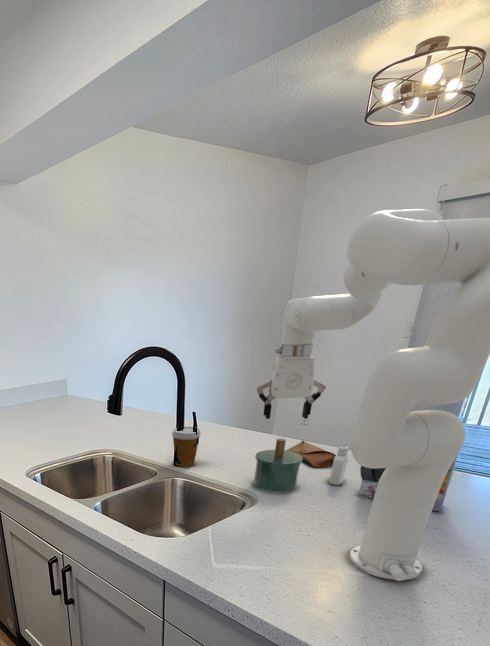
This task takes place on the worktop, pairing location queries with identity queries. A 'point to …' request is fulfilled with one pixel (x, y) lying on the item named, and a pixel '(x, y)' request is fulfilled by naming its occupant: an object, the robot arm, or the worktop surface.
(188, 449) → the disposable coffee cup
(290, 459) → the lid
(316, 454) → the sunglasses case
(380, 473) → the cake pan box
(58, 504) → the worktop surface
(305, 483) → the worktop surface
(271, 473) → the canister
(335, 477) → the eye dropper bottle
